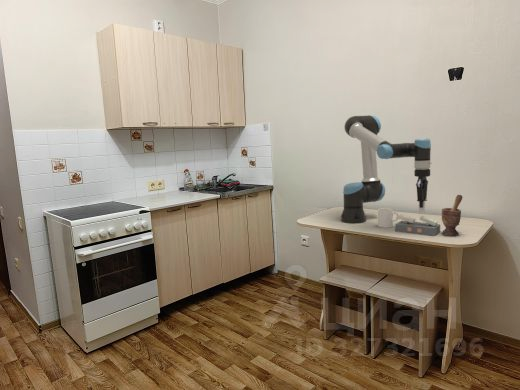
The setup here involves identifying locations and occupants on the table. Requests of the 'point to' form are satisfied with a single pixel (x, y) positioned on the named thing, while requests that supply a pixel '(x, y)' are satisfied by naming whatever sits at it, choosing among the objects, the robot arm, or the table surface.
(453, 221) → the mortar and pestle
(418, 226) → the switch unit
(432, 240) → the table surface
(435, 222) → the rocker
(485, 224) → the table surface
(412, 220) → the rocker
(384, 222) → the mug
